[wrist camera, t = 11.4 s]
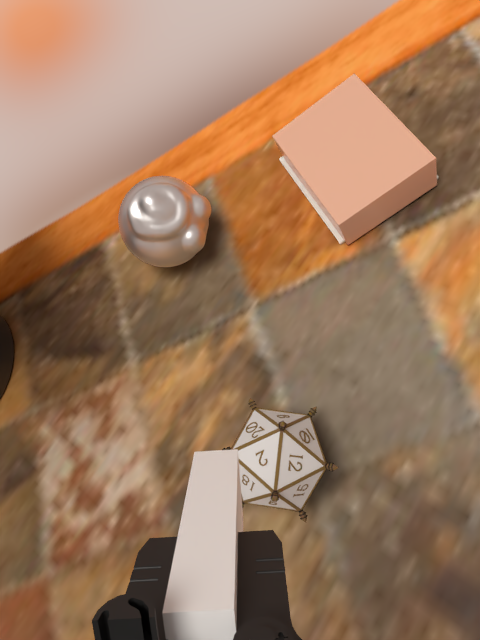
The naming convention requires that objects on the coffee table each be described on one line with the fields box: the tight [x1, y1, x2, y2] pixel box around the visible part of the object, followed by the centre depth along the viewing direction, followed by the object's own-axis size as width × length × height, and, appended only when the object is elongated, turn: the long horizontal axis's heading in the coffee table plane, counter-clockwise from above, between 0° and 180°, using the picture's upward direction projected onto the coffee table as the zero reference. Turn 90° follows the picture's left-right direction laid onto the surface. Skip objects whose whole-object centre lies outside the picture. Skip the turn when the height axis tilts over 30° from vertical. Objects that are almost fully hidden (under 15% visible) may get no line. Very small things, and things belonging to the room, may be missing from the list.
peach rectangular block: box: [272, 74, 437, 245], centre depth 42 cm, size 4×9×12 cm
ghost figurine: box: [118, 176, 211, 267], centre depth 45 cm, size 9×10×10 cm
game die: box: [222, 398, 338, 522], centre depth 35 cm, size 9×8×10 cm
